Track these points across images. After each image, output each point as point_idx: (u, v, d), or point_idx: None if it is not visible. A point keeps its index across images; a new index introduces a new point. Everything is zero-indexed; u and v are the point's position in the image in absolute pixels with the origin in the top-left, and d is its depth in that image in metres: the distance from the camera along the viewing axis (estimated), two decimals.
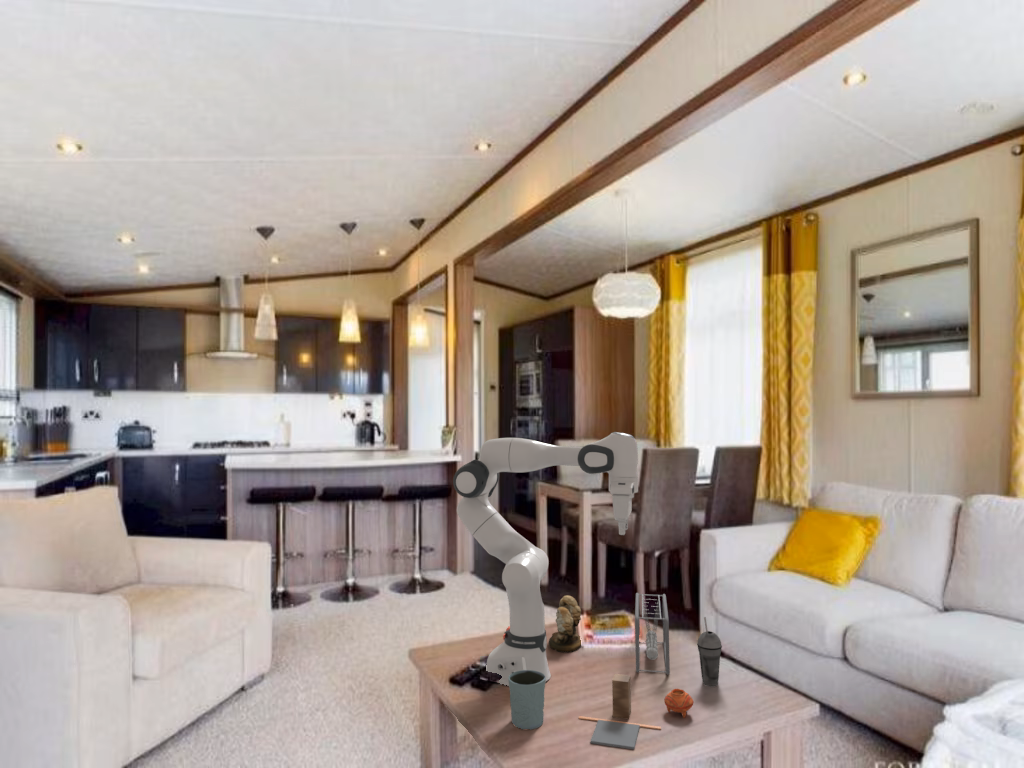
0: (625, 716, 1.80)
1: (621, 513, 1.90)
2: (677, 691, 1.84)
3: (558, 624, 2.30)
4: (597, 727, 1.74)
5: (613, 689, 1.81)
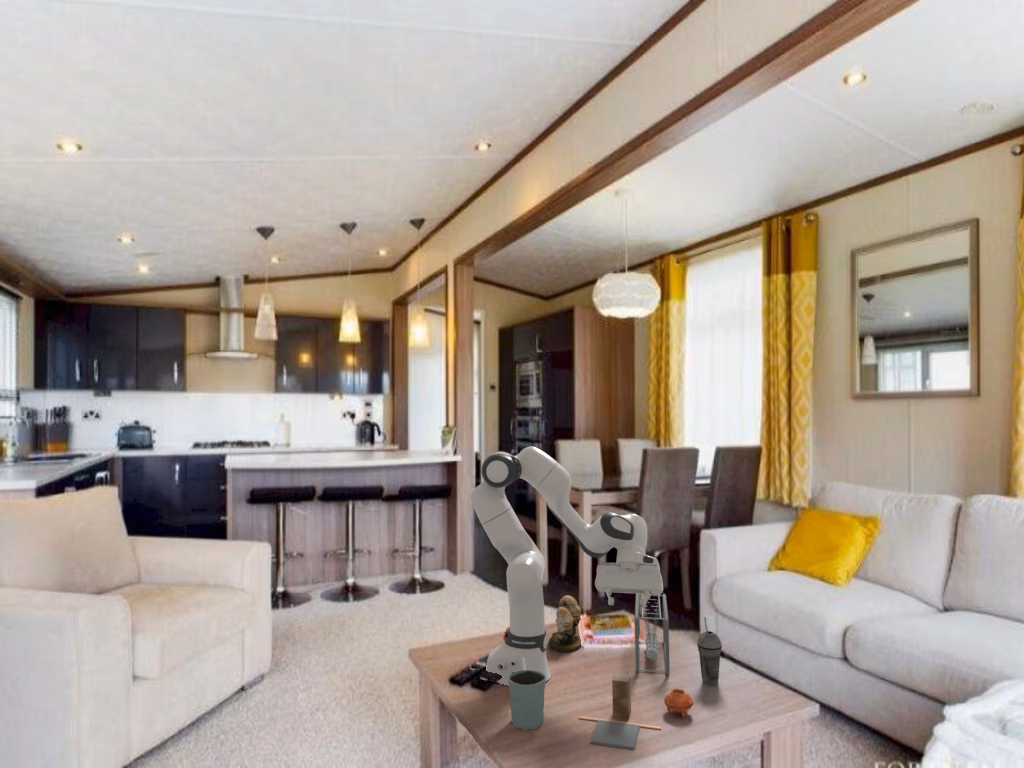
0: (625, 716, 1.80)
1: (662, 586, 1.96)
2: (677, 691, 1.84)
3: (558, 624, 2.30)
4: (597, 727, 1.74)
5: (613, 689, 1.81)
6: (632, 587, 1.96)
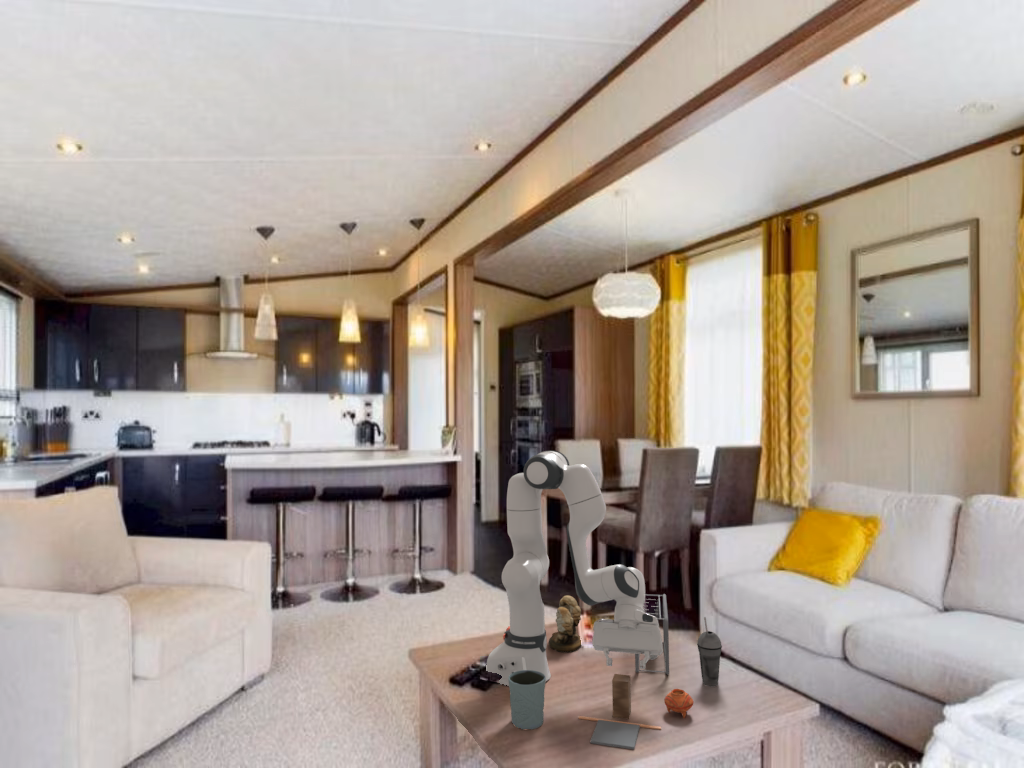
0: (625, 716, 1.80)
1: (662, 646, 1.90)
2: (677, 691, 1.84)
3: (558, 624, 2.30)
4: (597, 727, 1.74)
5: (613, 689, 1.81)
6: (631, 647, 1.89)
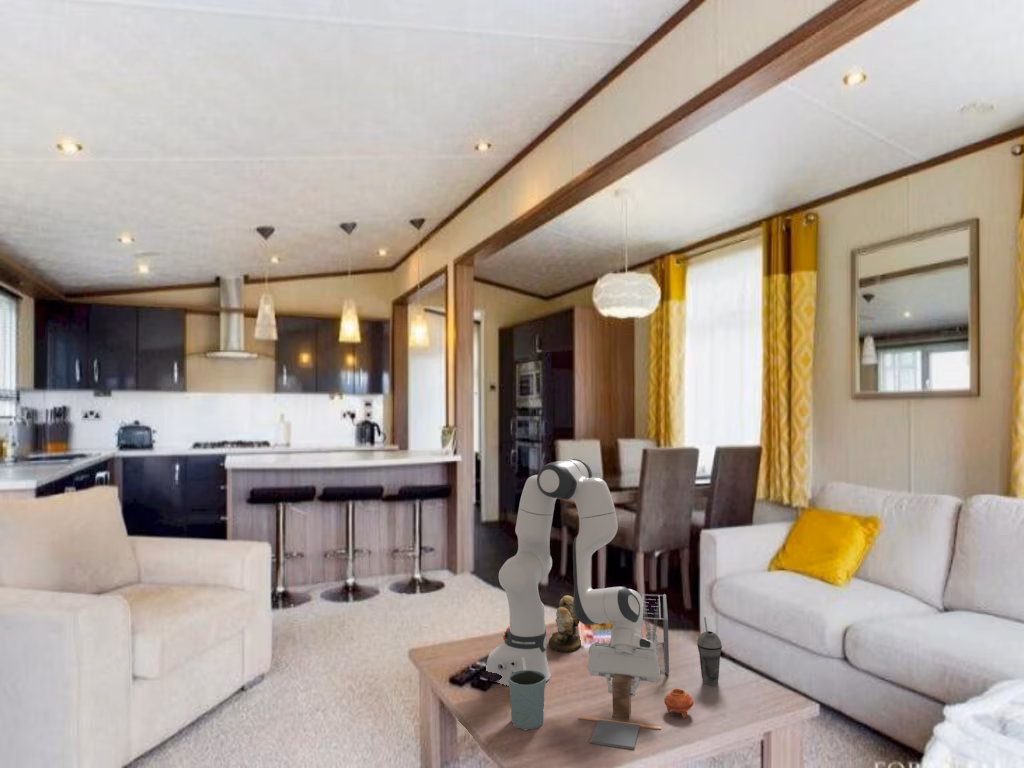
0: (625, 716, 1.80)
1: (659, 673, 1.83)
2: (677, 691, 1.84)
3: (558, 624, 2.30)
4: (597, 727, 1.74)
5: (613, 689, 1.81)
6: (627, 674, 1.83)
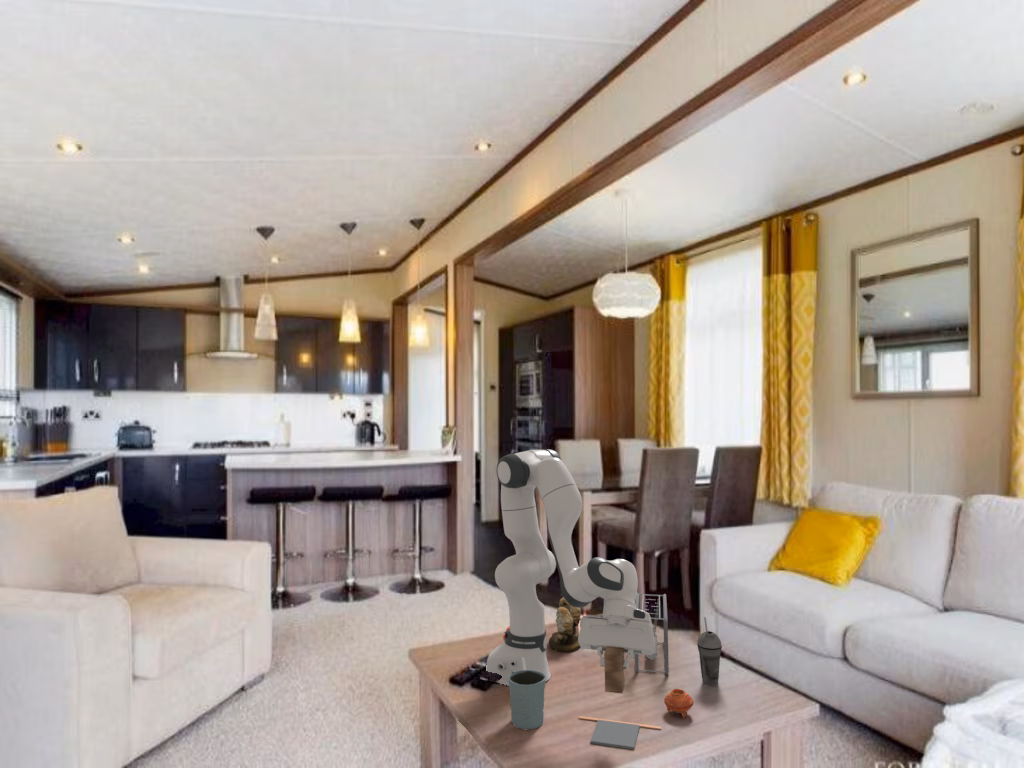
0: (618, 690, 1.68)
1: (654, 645, 1.72)
2: (677, 691, 1.84)
3: (558, 624, 2.30)
4: (597, 727, 1.74)
5: (605, 662, 1.70)
6: (621, 646, 1.72)
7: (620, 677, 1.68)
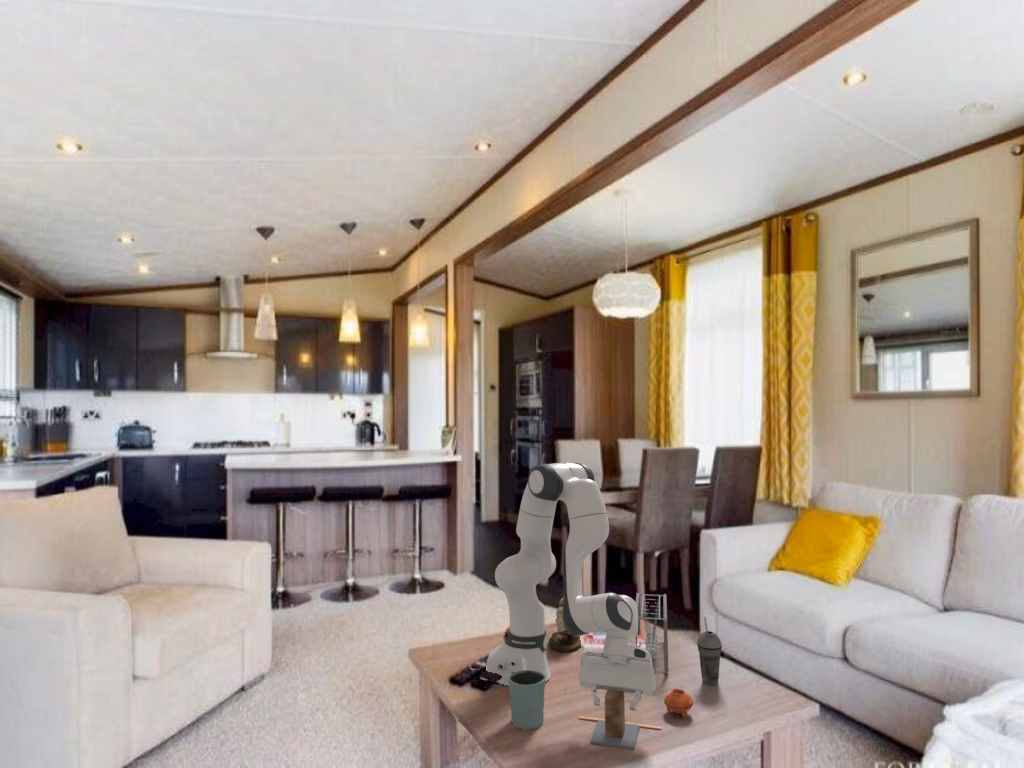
0: (618, 735, 1.68)
1: (655, 686, 1.72)
2: (677, 691, 1.84)
3: (558, 624, 2.30)
4: (597, 727, 1.74)
5: (605, 706, 1.69)
6: (621, 686, 1.72)
7: (620, 722, 1.68)
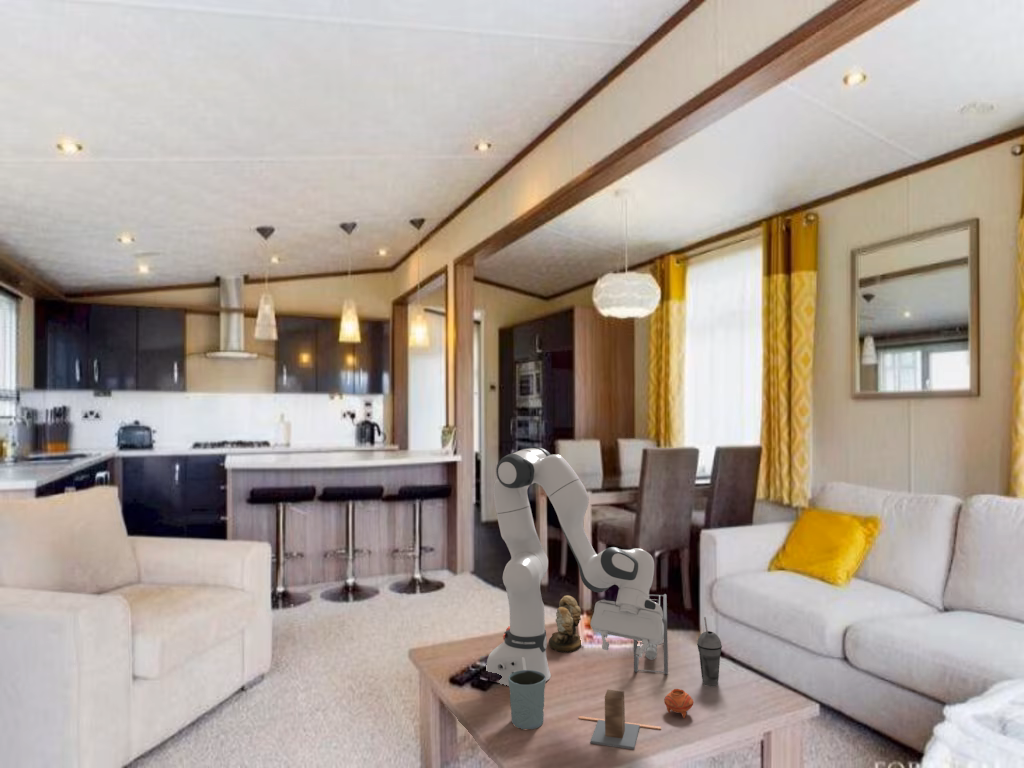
0: (618, 735, 1.68)
1: (662, 636, 1.80)
2: (677, 691, 1.84)
3: (558, 624, 2.30)
4: (597, 727, 1.74)
5: (605, 706, 1.69)
6: (629, 633, 1.81)
7: (620, 722, 1.68)
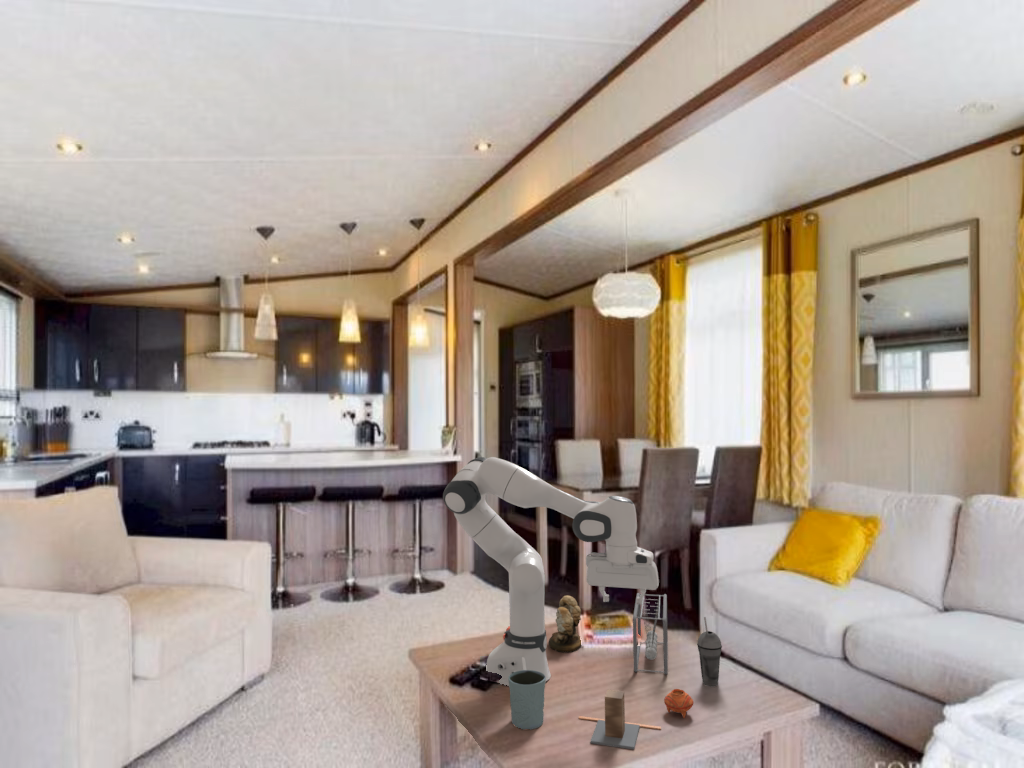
0: (618, 735, 1.68)
1: (658, 580, 1.85)
2: (677, 691, 1.84)
3: (558, 624, 2.30)
4: (597, 727, 1.74)
5: (605, 706, 1.69)
6: (627, 587, 1.86)
7: (620, 722, 1.68)
